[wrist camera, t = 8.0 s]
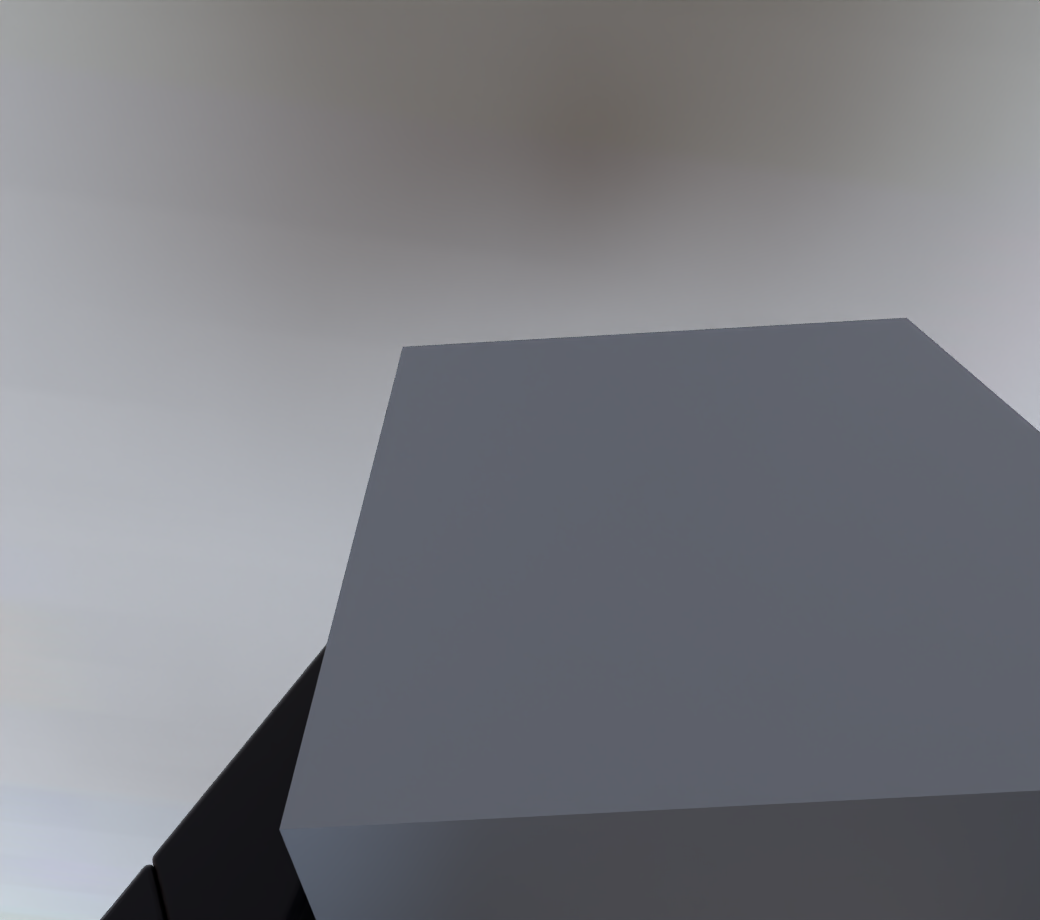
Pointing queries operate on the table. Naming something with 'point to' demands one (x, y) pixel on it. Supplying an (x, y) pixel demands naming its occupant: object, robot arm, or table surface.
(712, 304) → the table surface
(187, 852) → the robot arm
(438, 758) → the slate blue block
